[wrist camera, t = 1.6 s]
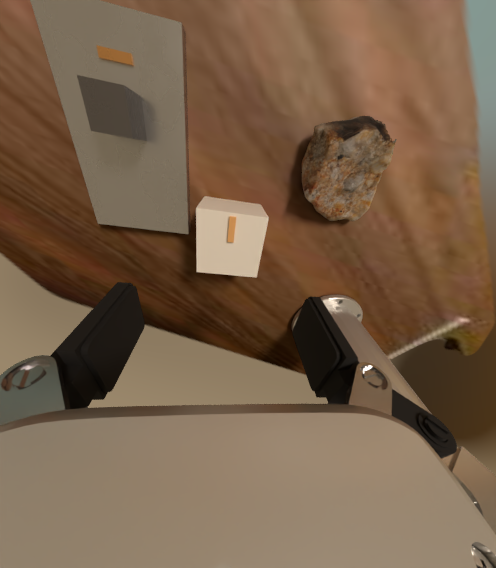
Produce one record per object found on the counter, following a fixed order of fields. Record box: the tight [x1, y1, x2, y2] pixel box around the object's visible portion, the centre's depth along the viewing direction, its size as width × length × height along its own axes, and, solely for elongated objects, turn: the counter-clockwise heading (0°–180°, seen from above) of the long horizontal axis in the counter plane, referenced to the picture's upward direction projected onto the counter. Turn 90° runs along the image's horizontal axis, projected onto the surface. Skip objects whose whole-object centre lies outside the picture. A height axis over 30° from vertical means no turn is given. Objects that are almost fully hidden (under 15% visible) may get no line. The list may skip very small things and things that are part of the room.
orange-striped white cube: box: [196, 196, 269, 277], centre depth 21 cm, size 7×7×6 cm
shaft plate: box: [31, 0, 190, 234], centre depth 16 cm, size 16×10×4 cm, turn 172°
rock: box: [301, 116, 396, 221], centre depth 19 cm, size 9×6×10 cm
